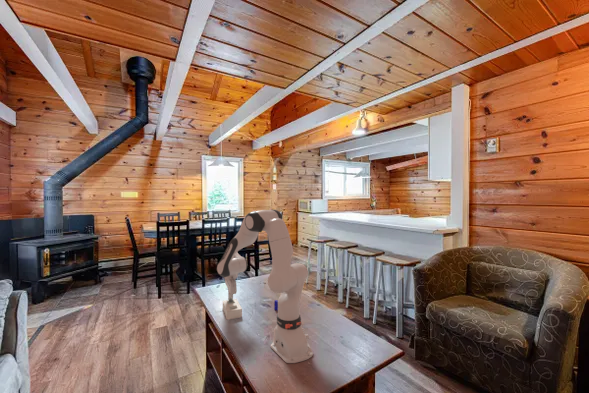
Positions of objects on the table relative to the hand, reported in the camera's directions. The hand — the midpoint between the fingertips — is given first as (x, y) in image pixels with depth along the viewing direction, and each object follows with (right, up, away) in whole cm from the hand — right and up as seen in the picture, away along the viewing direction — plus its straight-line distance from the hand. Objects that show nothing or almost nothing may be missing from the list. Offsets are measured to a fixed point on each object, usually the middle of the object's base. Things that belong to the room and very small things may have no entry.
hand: (230, 295), depth 165 cm
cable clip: (+32, -10, +5) cm, 34 cm away
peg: (0, -4, 0) cm, 4 cm away
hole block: (+2, -9, -4) cm, 10 cm away
